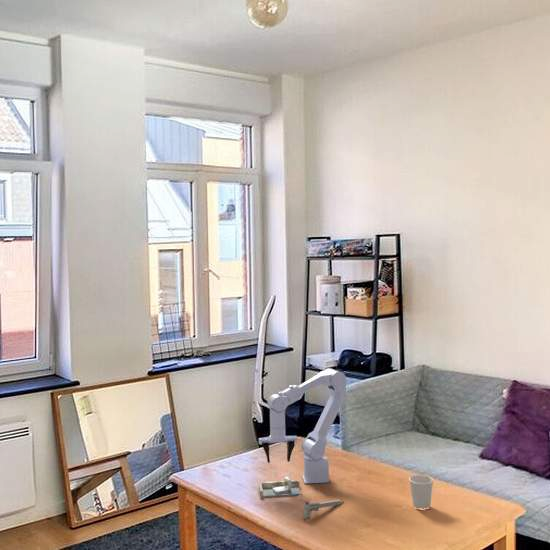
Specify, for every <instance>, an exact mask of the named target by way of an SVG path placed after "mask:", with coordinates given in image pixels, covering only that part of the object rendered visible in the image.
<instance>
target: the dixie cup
mask: <svg viewBox="0 0 550 550" xmlns="http://www.w3.org/2000/svg"><path fill="white" fill-rule="evenodd" d="M408 480H409V483H410V484H409V485H410V492H411V499H412V507H413V506H414V507H416V508H423V509H424V508H428V507H430V508H431V505H432V504H431V502H432V495H433V494H432V492H433V483H434V481H435V479H434V478H433V477H431V476H429V475H425V474H415V475H411V476H410V477H409V478H408ZM414 507H413V508H414Z"/></svg>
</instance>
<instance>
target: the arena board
mask: <svg viewBox="0 0 550 550" xmlns="http://www.w3.org/2000/svg"><path fill="white" fill-rule="evenodd" d="M272 488H275V487H272ZM272 488H262V489H263V497H267V498H280V497H295V496H296V497H298V496H299V495H301V496H302V493H301V490H300V487H298V486H291V492H288V493H281V494H275V493H274V492H273V489H272Z"/></svg>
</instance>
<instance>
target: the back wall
mask: <svg viewBox="0 0 550 550" xmlns="http://www.w3.org/2000/svg"><path fill="white" fill-rule="evenodd" d="M259 483H261V484H262V488H272V487H282V486H285V483H284V480H276V481H275V480H274V481H260V482H259ZM300 484H301V483H300V480H299V479H298V480H297V479H293V480H292V479H291V486H298V487H299V488H300V487H301V486H300Z"/></svg>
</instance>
